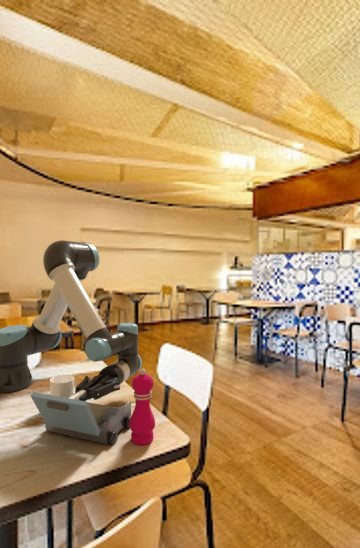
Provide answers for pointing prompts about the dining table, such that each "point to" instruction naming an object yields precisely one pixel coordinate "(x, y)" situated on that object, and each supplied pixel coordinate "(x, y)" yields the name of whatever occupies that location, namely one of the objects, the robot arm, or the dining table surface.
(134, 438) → the pepper mill
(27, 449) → the dining table surface
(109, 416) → the cart bed
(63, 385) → the white cup
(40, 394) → the panel
